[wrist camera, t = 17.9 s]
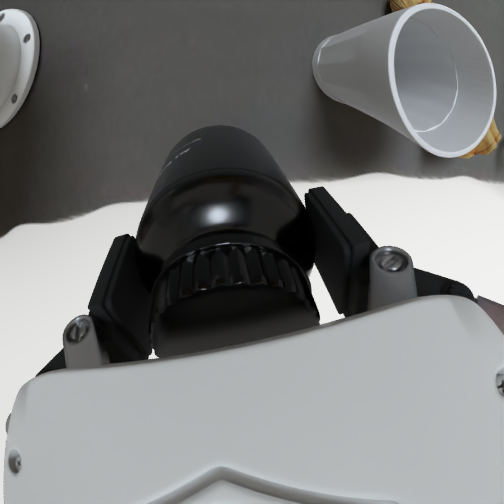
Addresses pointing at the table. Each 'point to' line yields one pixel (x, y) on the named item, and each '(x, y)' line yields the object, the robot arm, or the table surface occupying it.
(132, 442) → the robot arm
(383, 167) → the table surface
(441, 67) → the cup
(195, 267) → the supplement bottle
